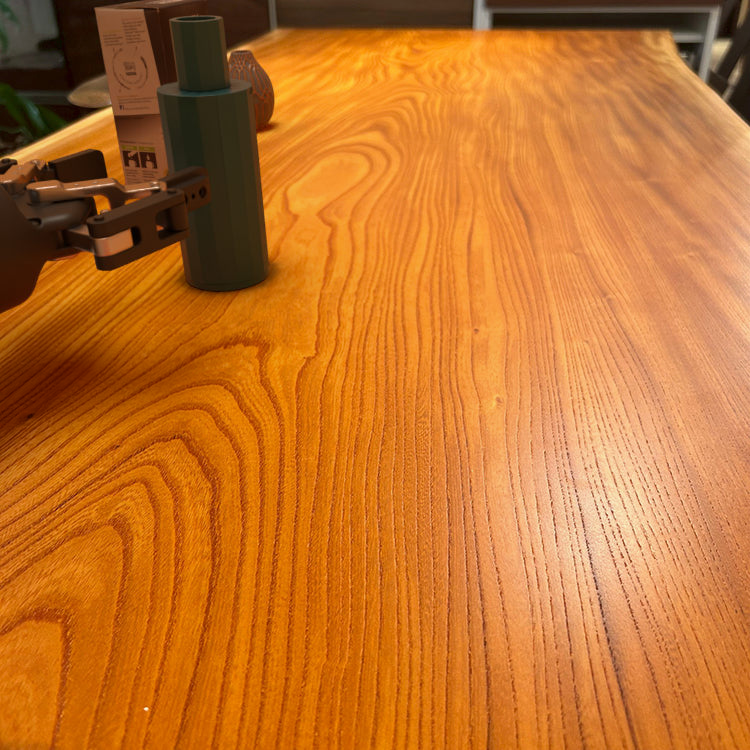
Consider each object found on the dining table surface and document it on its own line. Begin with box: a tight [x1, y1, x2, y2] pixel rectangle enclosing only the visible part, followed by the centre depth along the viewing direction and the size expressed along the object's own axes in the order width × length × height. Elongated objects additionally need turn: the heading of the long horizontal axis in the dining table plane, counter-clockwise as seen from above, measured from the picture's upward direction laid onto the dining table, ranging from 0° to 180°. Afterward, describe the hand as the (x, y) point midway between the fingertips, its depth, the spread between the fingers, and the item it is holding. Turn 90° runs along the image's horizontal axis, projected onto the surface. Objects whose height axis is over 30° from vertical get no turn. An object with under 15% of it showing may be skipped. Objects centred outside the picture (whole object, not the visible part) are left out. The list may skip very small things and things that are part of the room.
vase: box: [228, 49, 276, 131], centre depth 93 cm, size 7×7×9 cm
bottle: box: [157, 15, 270, 292], centre depth 52 cm, size 6×6×17 cm
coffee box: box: [94, 0, 209, 185], centre depth 72 cm, size 9×6×16 cm
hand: (151, 173), depth 47 cm, fingers open, 8 cm apart
